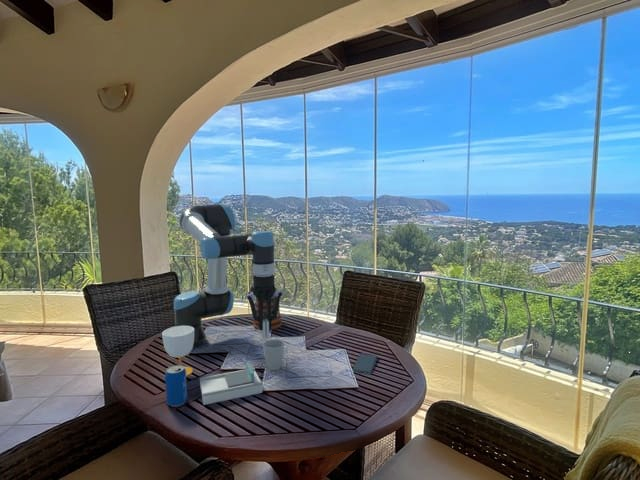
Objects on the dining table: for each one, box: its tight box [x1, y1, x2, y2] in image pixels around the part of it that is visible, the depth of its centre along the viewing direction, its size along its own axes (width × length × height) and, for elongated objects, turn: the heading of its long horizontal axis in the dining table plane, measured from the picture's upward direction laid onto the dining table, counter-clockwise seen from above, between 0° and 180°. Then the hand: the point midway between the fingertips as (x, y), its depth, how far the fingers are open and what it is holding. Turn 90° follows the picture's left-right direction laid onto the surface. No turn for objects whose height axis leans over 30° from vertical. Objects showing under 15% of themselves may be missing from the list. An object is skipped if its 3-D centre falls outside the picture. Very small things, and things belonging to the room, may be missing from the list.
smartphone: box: [352, 353, 378, 375], centre depth 154 cm, size 8×2×15 cm
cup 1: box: [161, 325, 194, 377], centre depth 147 cm, size 12×12×17 cm
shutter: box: [224, 362, 254, 388], centre depth 136 cm, size 9×9×4 cm
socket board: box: [199, 367, 263, 406], centre depth 135 cm, size 12×20×4 cm, turn 112°
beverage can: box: [164, 364, 188, 408], centre depth 127 cm, size 6×6×12 cm
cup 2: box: [263, 339, 285, 371], centre depth 152 cm, size 8×8×10 cm
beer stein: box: [247, 285, 282, 331], centre depth 199 cm, size 19×15×20 cm
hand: (265, 337), depth 138 cm, fingers closed
